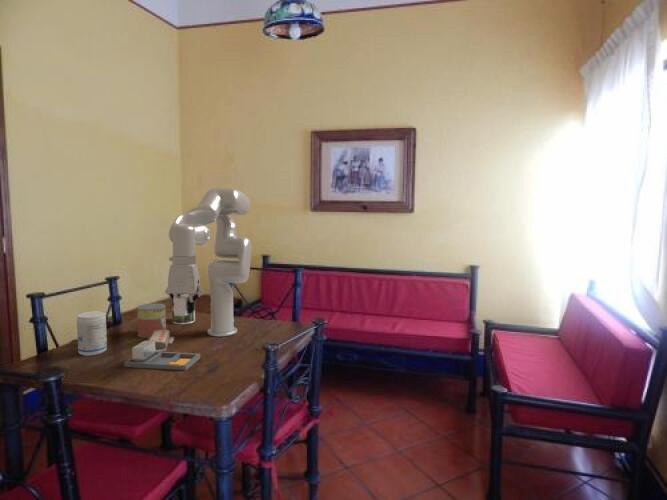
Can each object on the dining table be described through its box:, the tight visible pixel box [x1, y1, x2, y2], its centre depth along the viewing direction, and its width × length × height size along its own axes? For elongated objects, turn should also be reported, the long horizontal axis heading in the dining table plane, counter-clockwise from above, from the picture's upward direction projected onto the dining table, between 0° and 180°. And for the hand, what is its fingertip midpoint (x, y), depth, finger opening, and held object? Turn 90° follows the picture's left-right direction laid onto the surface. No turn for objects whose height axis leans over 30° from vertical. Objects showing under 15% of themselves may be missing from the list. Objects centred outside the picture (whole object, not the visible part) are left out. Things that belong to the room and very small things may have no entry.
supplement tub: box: [76, 310, 108, 357], centre depth 168 cm, size 10×10×15 cm
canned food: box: [136, 302, 167, 339], centre depth 191 cm, size 11×11×12 cm
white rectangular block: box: [174, 294, 196, 316], centre depth 157 cm, size 8×4×6 cm, turn 173°
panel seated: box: [131, 340, 156, 362], centre depth 157 cm, size 8×4×6 cm, turn 173°
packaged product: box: [146, 329, 175, 352], centre depth 176 cm, size 18×5×10 cm
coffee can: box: [171, 294, 196, 325], centre depth 210 cm, size 10×10×14 cm
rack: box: [123, 351, 201, 371], centre depth 157 cm, size 12×22×3 cm, turn 83°
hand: (184, 312), depth 157 cm, fingers closed on white rectangular block, 4 cm apart
